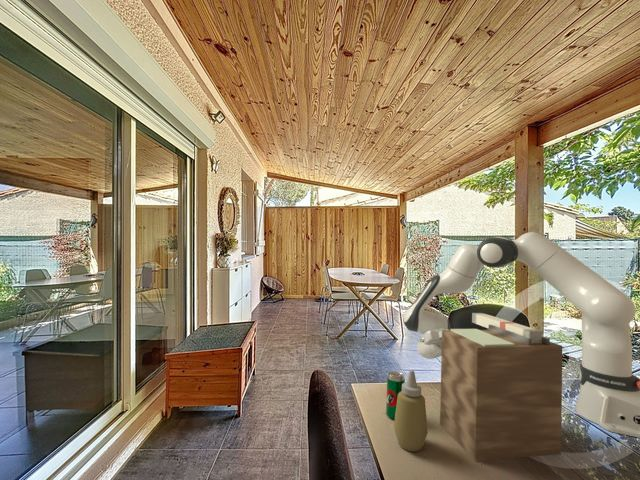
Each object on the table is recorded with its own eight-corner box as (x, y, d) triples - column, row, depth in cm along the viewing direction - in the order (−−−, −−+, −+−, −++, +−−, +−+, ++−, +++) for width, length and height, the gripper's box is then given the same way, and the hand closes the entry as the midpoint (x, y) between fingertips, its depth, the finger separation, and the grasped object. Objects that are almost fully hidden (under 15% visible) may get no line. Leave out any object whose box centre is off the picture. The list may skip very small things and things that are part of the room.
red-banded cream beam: (471, 322, 98) (472, 312, 98) (482, 322, 98) (482, 312, 98) (529, 343, 76) (529, 331, 76) (541, 343, 77) (542, 331, 77)
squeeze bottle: (386, 439, 78) (388, 367, 78) (410, 431, 82) (412, 363, 82) (409, 459, 71) (411, 380, 71) (434, 449, 74) (436, 374, 75)
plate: (450, 330, 87) (450, 329, 87) (476, 330, 88) (476, 328, 88) (484, 346, 73) (484, 344, 73) (514, 345, 74) (514, 344, 74)
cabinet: (440, 423, 86) (442, 325, 86) (513, 419, 89) (514, 324, 90) (475, 461, 71) (477, 341, 72) (561, 453, 74) (562, 339, 75)
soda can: (404, 422, 86) (405, 379, 86) (386, 419, 87) (387, 376, 87) (403, 412, 91) (404, 372, 91) (386, 410, 92) (387, 370, 92)
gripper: (415, 333, 117) (432, 322, 105) (464, 332, 120) (486, 322, 108) (419, 350, 113) (436, 341, 102) (469, 349, 117) (492, 340, 105)
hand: (462, 331), depth 105 cm, fingers open, 8 cm apart
